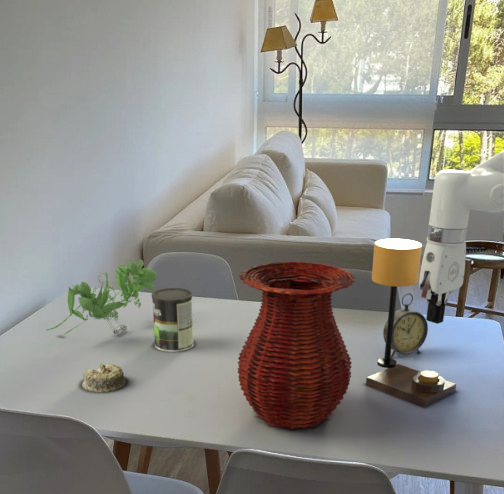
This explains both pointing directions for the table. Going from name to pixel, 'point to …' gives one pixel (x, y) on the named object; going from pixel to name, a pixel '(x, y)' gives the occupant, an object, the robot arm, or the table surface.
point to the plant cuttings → (96, 304)
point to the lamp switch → (428, 377)
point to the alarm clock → (407, 330)
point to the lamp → (395, 278)
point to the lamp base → (410, 385)
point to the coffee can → (173, 319)
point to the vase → (295, 345)
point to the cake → (104, 379)
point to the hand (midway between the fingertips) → (434, 321)
